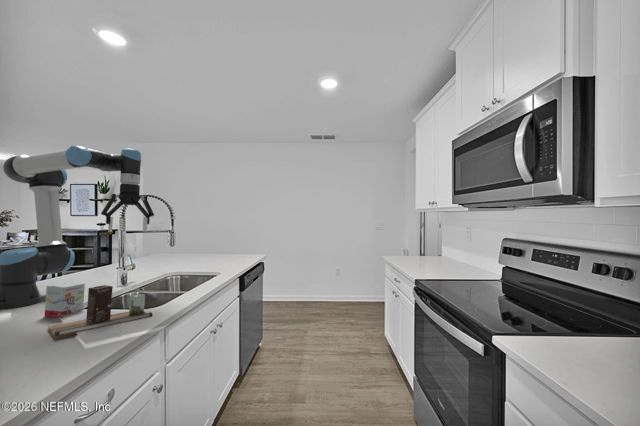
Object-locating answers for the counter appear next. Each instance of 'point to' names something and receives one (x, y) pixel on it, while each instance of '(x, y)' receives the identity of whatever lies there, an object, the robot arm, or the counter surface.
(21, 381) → the counter surface
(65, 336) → the shelf board
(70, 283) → the ink box
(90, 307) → the box
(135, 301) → the green glass jar
